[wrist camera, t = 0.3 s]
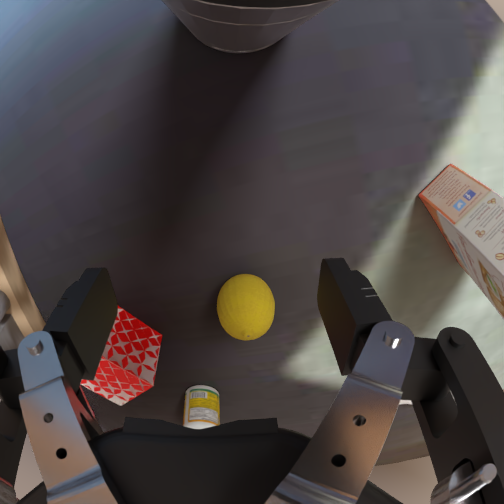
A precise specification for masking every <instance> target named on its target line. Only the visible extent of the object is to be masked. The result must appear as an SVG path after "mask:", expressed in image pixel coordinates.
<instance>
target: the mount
mask: <svg viewBox="0 0 504 504" xmlns="http://www.w3.org/2000/svg"><path fill="white" fill-rule="evenodd" d="M0 290H1V291H3V292H4V293H5V294H6V295H7V296H8V298H9V300H10V304H11V305H10V307H9V309H8V311H7V312H6V314H5V315H4V317H3V318H2V320H1V322H0V345H1V347H2V348H3V350H4V351H6V350H11V349H17V348H18V347H19V344H20V342H21V341H22V340H23V339H24V338H25V337H26V336H27V335H29V334H31V333H33V332H36V331H42V330H43V328H44V326H45V325H46V324H45V322H44V320H43V318H42V316H41V314H40V312H39V310H38V308H37V306H36V304H35V302H34V300H33V298H32V296H31V293H30V291H29V289H28V287H27V285H26V282H25V280H24V278H23V276H22V273H21V271H20V268H19V266H18V264H17V261H16V259H15V256H14V253H13V251H12V248H11V245H10V243H9V240H8V237H7V234H6V231H5V228H4V225H3V222H2V219H1V216H0Z"/></svg>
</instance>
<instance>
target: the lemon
mask: <svg viewBox="0 0 504 504" xmlns="http://www.w3.org/2000/svg"><path fill="white" fill-rule="evenodd" d="M274 309H275V303H274V298H273V295H272V292H271V290H270V288H269V287H268V285H267V284H266V283H265V282H264V281H263V280H262V279H260V278H259V277H257V276H254V275H250V274H240V275H236V276H234V277H232V278H230V279H229V280H228V281H226V282H225V284H224V285H223V286H222V288H221V290H220V292H219V295H218V299H217V313H218V316H219V320H220V323H221V325H222V327H223V328H224V329H225V331H226V332H227V333H228V334H229V335H231V336H232V337H234V338H236V339H240V340H253V339H256V338H258V337H260V336H262V335H263V334H264V333H266V332H267V330H268V329H269V328H270V326H271V324H272V321H273V318H274Z"/></svg>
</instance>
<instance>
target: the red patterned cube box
mask: <svg viewBox="0 0 504 504" xmlns="http://www.w3.org/2000/svg"><path fill="white" fill-rule="evenodd" d="M161 340H162V334H160V333H158V332H157V331H155V330H154V329H152V328H151V327H149V326H148V325H146V324H145V323H143V322H141V321H140V320H138V319H137V318H135V317H134V316H132V315H131V314H130V313H128V312H127V311H125V310H124V309H122V308H121V307H120V306H118V313H117V317H116V319H115V322H114V325H113V327H112V330H111V333H110V335H109V338H108V341H107V343H106V346H105V349H104V352H103V354H102V357H101V360H100V363H99V366H98V369H97V372H96V375H95V378H94V381H92V380H83V379H82V381H81V383H80V384H81V385H83V386H85V387H86V388H88V389H90V390H92V391H93V392H95V393H97V394H99V395H101V396H103V397H104V398H106V399H108V400H110V401H112V402H114V403H116V404H118V405H120V406H122V405H123V404H125V403H127V402H128V401H130V400H132V399H133V398H135V397H137V396H138V395H140V394H141V393H143V392H145V391H146V390H148V389H150V388H151V387H153V386H154V381H155V374H156V368H157V363H158V357H159V351H160V346H161Z"/></svg>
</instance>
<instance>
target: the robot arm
mask: <svg viewBox="0 0 504 504" xmlns="http://www.w3.org/2000/svg"><path fill="white" fill-rule="evenodd" d="M162 1H163V2H164V3H165V4H166V5H167V7H168V8H169V9H170V10H171V11H172V12H173V13H174V14H175V15H176V16H177V17H178V18H179V20H180V21H181V22H182V23H183V24H184V25H185V26H186V27H187V28H188V29H189V30H190V32H191V33H192V34H193V35H194V36H195V37H196V38H197V39H198V40H199V41H201V42H202V43H204V44H205V45H207V46H209V47H211V48H213V49H215V50H219V51H223V52H227V53H238V54H241V53H251V52H255V51H259V50H262V49H265V48H267V47H269V46H271V45H273V44H275V43H276V42H277V41H279V40H280V39H282V38H283V37H285V36H286V35H287V34H289V33H290V32H292V31H293V30H295V29H296V28H297V27H299V26H300V25H302V24H303V23H305V22H306V21H308V20H309V19H311V18H312V17H314V16H315V15H317V14H319V13H320V12H322V11H323V10H325V9H326V8H328V7H330V6H331V5H332V4H334V3H336V2H337V1H339V0H162ZM317 301H318V308H319V311H320V314H321V317H322V320H323V322H324V325H325V328H326V331H327V334H328V337H329V340H330V342H331V345H332V348H333V351H334V354H335V357H336V360H337V363H338V366H339V369H340V372H341V375H342V376H344V375H348V376H347V378H346V380H345V381H344V383H343V385H342V387H341V389H340V391H339V393H338V394H337V396H336V398H335V400H334V402H333V403H332V405H331V407H330V409H329V410H328V412H327V414H326V416H325V417H324V419H323V421H322V422H321V424H320V426H319V427H318V429H317V431H316V432H315V434H314V436H313V437H312V438H311V437H309V436H306V435H304V434H302V433H299V432H296V431H293V430H289V429H284V428H278V425H277V418H267V419H253V420H237V421H233V422H229V423H225V424H221V425H217V426H213V427H208V428H204V429H193V428H189V427H185V426H181V425H177V424H173V423H170V422H166V421H163V420H156V419H141V418H130V417H125V422H124V427H122V428H117V429H113V430H110V431H107V432H105V433H104V432H103V431H102V429H101V427H100V425H99V424H98V422H97V420H96V418H95V416H94V413H93V411H92V409H91V407H90V405H89V403H88V401H87V399H86V396H85V394H84V392H83V390H82V388H81V386H80V383H81V381H82V379H83V380H92V381H94V378H95V375H96V372H97V369H98V366H99V363H100V360H101V357H102V354H103V352H104V349H105V346H106V343H107V341H108V338H109V335H110V333H111V330H112V327H113V325H114V322H115V319H116V317H117V313H118V304H117V299H116V296H115V293H114V290H113V286H112V283H111V280H110V276H109V273H108V271H107V269H106V268H87V269H86V270H85V271H84V273H83V275H82V276H81V278H80V279H79V281H76V282H75V283H73V284H72V285H71V286H70V287H69V288H68V289H67V290H66V291H65V293H64V294H63V296H62V298H61V300H60V301H59V303H58V304H57V307H55V309H54V311H53V313H52V314H51V316H50V318H49V319H48V321H47V323H46V325H45V326H44V328H43V330H42V331H36V332H33V333H31V334H29V335H27V336H26V337H25V338H24V339H23V340H22V341H21V342H20V344H19V347H18V348H17V349H11V350H6V351H4V350H3V348H2V347H1V345H0V399H1V402H0V504H403V503H401V502H399V501H398V500H396V499H395V498H394V497H392V496H391V495H389V494H388V493H386V492H385V491H383V490H382V489H380V488H379V487H377V486H376V485H375V484H373V483H372V482H370V481H369V480H368V478H369V476H370V474H371V472H372V470H373V467H374V465H375V463H376V461H377V459H378V456H379V454H380V452H381V449H382V447H383V445H384V442H385V440H386V437H387V435H388V432H389V430H390V427H391V425H392V422H393V419H394V417H395V414H396V411H397V408H398V406H399V403H400V400H411V402H412V405H413V407H414V410H415V413H416V416H417V418H418V421H419V424H420V427H421V430H422V433H423V436H424V439H425V442H426V445H427V448H428V451H429V454H430V457H431V460H432V464H433V467H434V470H435V474H436V477H437V481H438V484H437V485H436V486H435V488H434V489H433V492H432V494H431V504H504V392H503V390H502V388H501V386H500V384H499V382H498V381H497V379H496V377H495V375H494V373H493V372H492V370H491V368H490V367H489V365H488V363H487V361H486V360H485V358H484V356H483V355H482V353H481V351H480V350H479V348H478V347H477V345H476V343H475V342H474V340H473V339H472V337H471V336H470V335H469V334H468V333H467V332H465V331H464V330H462V329H459V328H455V327H447V328H444V329H442V330H441V331H440V333H439V335H438V337H437V339H430V338H419V337H414V335H413V333H412V331H411V330H410V329H409V328H408V327H406V326H405V325H403V324H401V323H399V322H395V321H393V320H392V319H391V317H390V315H389V314H388V312H387V310H386V308H385V307H384V305H383V303H382V302H381V300H380V298H379V297H378V296H377V293H376V292H375V290H374V289H373V288H372V285H371V284H370V282H369V280H368V279H367V278H366V277H365V276H364V275H363V274H361V273H360V272H359V271H357V270H354V271H351V270H350V268H349V266H348V265H347V263H346V261H345V260H344V258H330V259H323V260H322V263H321V270H320V278H319V286H318V294H317ZM450 391H451V392H450ZM451 393H452V394H451ZM452 395H453V396H452ZM454 400H455V401H454ZM455 402H456V403H455ZM456 404H457V405H456ZM27 433H28V436H29V439H30V443H31V446H32V449H33V452H34V455H35V458H36V462H37V464H38V467H39V470H40V473H41V475H42V478H43V482H42V483H40V484H39V485H38V486H37V487H35V488H34V489H33V490H32V491H31V492H29V493H28V494H27V495H26V496H25V497H23V498H22V499H21V500H19V499H18V498H16V493H15V490H14V484H15V479H16V475H17V470H18V466H19V461H20V457H21V453H22V449H23V445H24V441H25V438H26V434H27Z"/></svg>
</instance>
